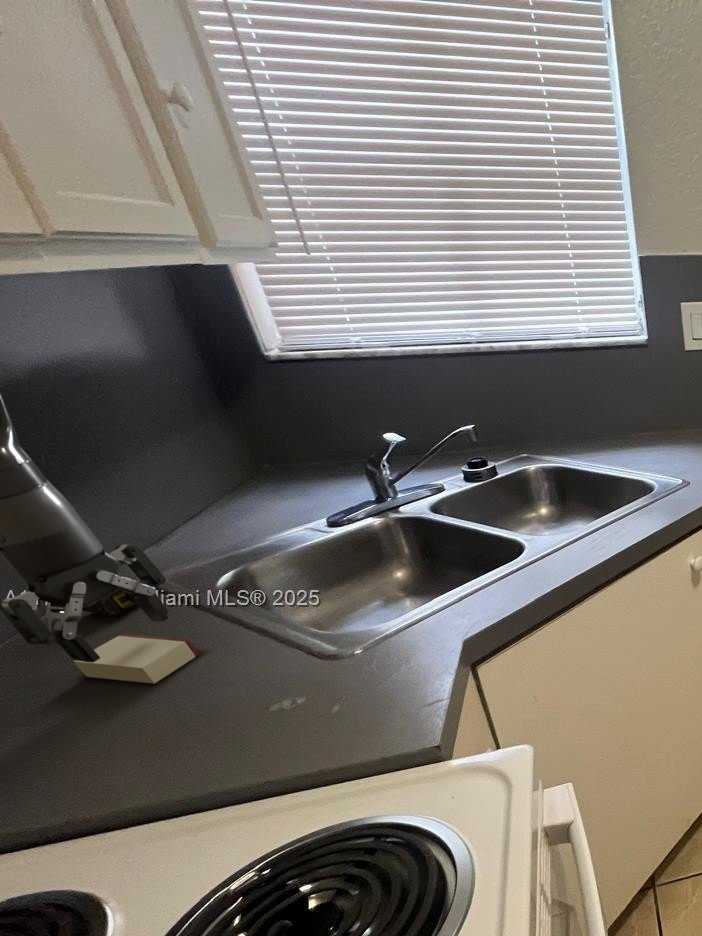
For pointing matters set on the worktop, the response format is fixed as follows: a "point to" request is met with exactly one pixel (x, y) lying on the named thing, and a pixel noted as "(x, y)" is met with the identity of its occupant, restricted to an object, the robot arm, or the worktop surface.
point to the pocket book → (139, 658)
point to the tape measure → (113, 603)
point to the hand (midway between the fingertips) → (127, 639)
